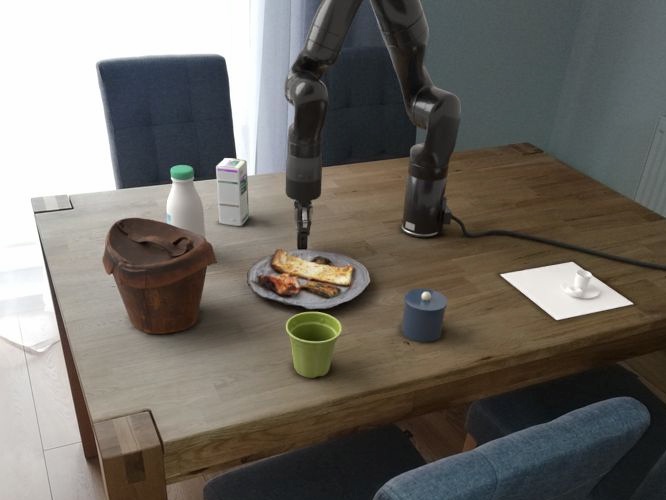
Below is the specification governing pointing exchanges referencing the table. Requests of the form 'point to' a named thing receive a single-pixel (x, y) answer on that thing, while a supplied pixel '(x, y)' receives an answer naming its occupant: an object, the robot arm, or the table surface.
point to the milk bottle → (185, 202)
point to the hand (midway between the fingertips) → (302, 248)
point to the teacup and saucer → (565, 290)
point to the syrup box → (232, 191)
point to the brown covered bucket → (158, 272)
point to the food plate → (308, 278)
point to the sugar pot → (423, 314)
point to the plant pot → (313, 342)
